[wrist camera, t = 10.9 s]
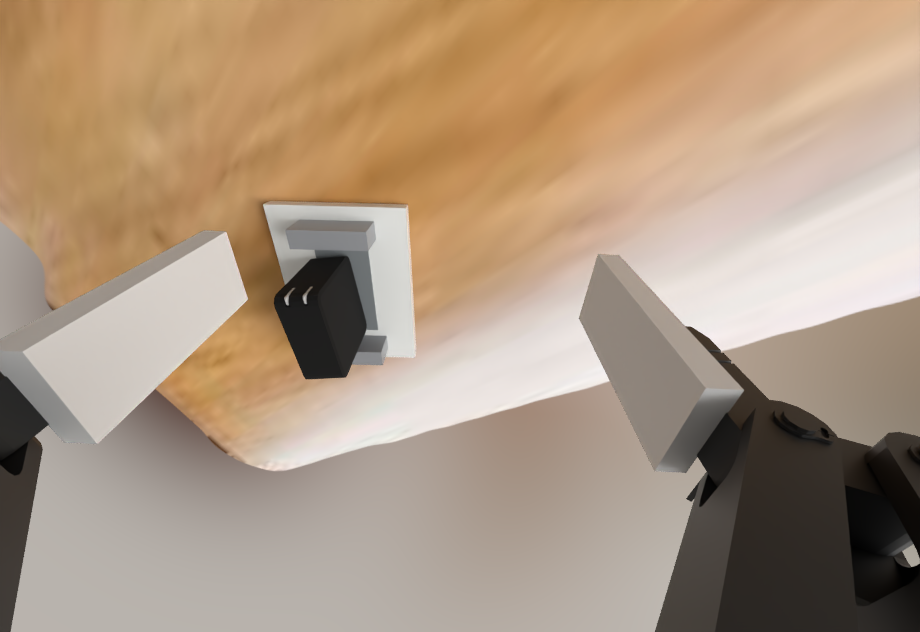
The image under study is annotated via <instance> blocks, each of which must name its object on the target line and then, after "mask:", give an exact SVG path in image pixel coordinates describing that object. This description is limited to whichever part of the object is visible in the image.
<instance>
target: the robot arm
mask: <svg viewBox="0 0 920 632" xmlns="http://www.w3.org/2000/svg"><path fill="white" fill-rule="evenodd" d="M247 300H248V298H247V295H246V292H245V288H244V285H243V282H242V279H241V276H240V273H239V270H238V267H237V264H236V261H235V257H234V254H233V251H232V248H231V245H230V242H229V239H228V236H227V233H226V232H225V231H208V230H204V231H202V232H200V233H198V234H196V235H194V236H192V237H190V238H189V239H187V240H185V241H183V242H181V243H179V244H177V245H175V246H174V247H172V248H170V249H168V250H166V251H164V252H162V253H161V254H159V255H157V256H155V257H153V258H151V259H149V260H147V261H146V262H144V263H142V264H140V265H138V266H136V267H134V268H132V269H131V270H129V271H127V272H125V273H123V274H121V275H119V276H117V277H116V278H114V279H112V280H110V281H108V282H106V283H104V284H102V285H101V286H99V287H97V288H95V289H93V290H91V291H89V292H88V293H86V294H84V295H82V296H80V297H78V298H76V299H74V300H73V301H71V302H69V303H67V304H65V305H63V306H61V307H59V308H58V309H56V310H54V311H52V312H50V313H48V314H46V315H44V316H43V317H41V318H39V319H37V320H35V321H33V322H31V323H29V324H28V325H26V326H24V327H22V328H20V329H18V330H16V331H15V332H13V333H11V334H9V335H7V336H5V337H3V338H2V339H0V632H10V631H11V625H12V620H13V614H14V608H15V602H16V597H17V591H18V586H19V580H20V574H21V568H22V563H23V557H24V552H25V546H26V540H27V535H28V529H29V523H30V518H31V512H32V506H33V500H34V495H35V490H36V484H37V478H38V473H39V467H40V461H41V456H42V450H43V449H42V445H41V443H40V442H39V441H38V439H37V438H36V437H35V435H36V434H38V433H39V432H40V431H41V430H43V429H44V428H45V427H46V426H48V425H49V426H50V428H51V429H52V430H53V431H54V432H55V433H56V434H57V435H58V436H59V438H60V439H61V440H62V441H63V442H65V443H67V442H68V443H86V444H98V443H99V442H100V441H101V440H102V439H103V438H104V437H105V436H106V435H107V434H108V433H109V432H110V431H112V429H114V427H116V426H117V425H118V424H119V423H120V422H121V421H122V420H123V419H124V418H125V417H126V416H127V415H128V414H129V413H130V412H131V411H132V410H133V409H134V408H135V407H137V406H138V405H139V404H140V403H141V402H142V401H143V400H144V399H145V398H146V397H147V396H148V395H149V394H150V393H151V392H152V391H153V390H154V389H155V388H156V387H157V386H158V385H159V384H161V383H162V382H163V381H164V380H165V379H166V378H167V377H168V376H169V375H170V374H171V373H172V372H173V371H174V370H175V369H176V368H177V367H178V366H179V365H180V364H181V363H182V362H183V361H184V360H186V359H187V358H188V357H189V356H190V355H191V354H192V353H193V352H194V351H195V350H196V349H197V348H198V347H199V346H200V345H201V344H202V343H203V342H204V341H205V340H206V339H207V338H208V337H209V336H211V335H212V334H213V333H214V332H215V331H216V330H217V329H218V328H219V327H220V326H221V325H222V324H223V323H224V322H225V321H226V320H227V319H228V318H229V317H230V316H231V315H232V314H233V313H235V312H236V311H237V310H238V309H239V308H240V307H241V306H242V305H243V304H244V303H245V302H246V301H247ZM579 319H580V321H581V323H582V325H583V327H584V329H585V331H586V333H587V335H588V337H589V339H590V341H591V344H592V346H593V348H594V350H595V352H596V354H597V356H598V358H599V360H600V362H601V364H602V366H603V368H604V370H605V372H606V374H607V376H608V378H609V380H610V382H611V384H612V386H613V388H614V390H615V392H616V394H617V396H618V398H619V400H620V402H621V404H622V406H623V408H624V410H625V412H626V414H627V416H628V418H629V420H630V422H631V424H632V426H633V428H634V431H635V433H636V435H637V436H638V439H639V441H640V443H641V445H642V447H643V449H644V451H645V452H646V455H647V457H648V459H649V461H650V463H651V465H652V467H653V469H654V471H661V472H662V471H663V472H682V473H686V472H687V471H688V469H689V468H690V466H691V465H692V464H693V462H694V461H695V459H696V458H697V457H698V458H699V460H700V461H701V463H702V464H703V466H704V468H705V469H706V471H707V472H706V473H705V475H704V476H703V477H702V479H701V480H700V481H699V483H698V484H697V485H696V487H695V488H694V489H693V491H692V492H691V493H690V495H689V496H688V497H687V498H686V499H687V500H689V501H692V500H693V499H694V498H695V499H694V503H693V506H692V509H691V513H690V516H689V519H688V523H687V526H686V530H685V533H684V536H683V539H682V543H681V546H680V550H679V553H678V556H677V560H676V564H675V566H674V570H673V573H672V576H671V580H670V583H669V587H668V590H667V593H666V597H665V600H664V604H663V607H662V610H661V613H660V617H659V620H658V623H657V627H656V630H655V632H920V564H919V565H917V566H914V567H911V566H910V565H909V563H908V562H907V560H906V558H905V556H904V554H903V552H902V551H903V550H904V549H906V548H908V547H909V546H911V545H912V544H914V546H915V548H916V549H917V552H918V555H919V558H920V437H918V436H915V435H910V434H906V433H901V432H895V433H888V434H887V435H886V436H885V437H883V438H882V439H881V440H880V441H879V442H878V443H877V444H876V445H874V446H873V447H871V446H867V445H863V444H860V443H856V442H852V441H849V440H845V439H841V438H838V437H837V436H836V434H835V433H834V432H833V431H832V430H831V429H830V428H829V427H828V426H827V425H826V424H825V423H824V422H822V421H821V420H819V419H818V418H817V417H815V416H814V415H812V414H810V413H808V412H806V411H804V410H802V409H801V408H799V407H797V406H793V405H791V404H787V403H785V402H781V401H774V400H769V399H768V398H767V397H766V396H765V395H764V394H763V393H762V392H761V391H760V390H759V389H758V388H757V387H756V386H755V385H754V384H753V383H752V382H751V381H750V380H749V379H748V378H747V377H746V376H745V375H744V374H743V373H742V372H741V371H740V369H739V368H738V367H737V366H735V364H731V360H730V359H729V358H728V357H727V356H726V355H725V354H724V353H721V350H720V349H719V348H718V347H717V346H716V345H715V344H714V343H713V342H712V341H711V340H710V339H709V338H708V337H706V336H705V335H703V334H702V333H700V332H698V331H697V330H695V329H694V328H692V327H686V326H684V325H683V324H682V323H681V321H680V320H679V319H678V318H677V317H676V316H675V315H674V314H673V313H672V312H671V311H670V310H669V308H668V307H667V306H666V305H665V304H664V303H663V302H662V301H661V300H660V299H659V298H658V297H657V296H656V294H655V293H654V292H653V291H652V290H651V289H650V288H649V287H648V286H647V285H646V284H645V283H644V281H643V280H642V279H641V278H640V277H639V276H638V275H637V274H636V273H635V272H634V271H633V270H632V269H631V267H630V266H629V265H628V264H627V263H626V262H625V261H624V260H623V259H622V258H621V257H620V256H619V255H606V254H598V256H597V259H596V262H595V266H594V269H593V273H592V276H591V279H590V283H589V286H588V290H587V293H586V296H585V300H584V303H583V307H582V310H581V313H580V317H579Z"/></svg>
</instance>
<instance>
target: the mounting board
mask: <svg viewBox="0 0 920 632" xmlns="http://www.w3.org/2000/svg"><path fill="white" fill-rule="evenodd" d="M263 206H264V210H265V214H266V217H267V221H268V225H269V228H270V232H271V236H272V239H273V243H274V246H275V250H276V254H277V257H278V261H279V265H280V268H281V272H282V276H283V279H284V283H285V285H286V284H287V283H288V282H289V281H290V280H291V279H292V278H293V277H294V276H295V275H296V274H297V273H298V271H299V270H300V269H301V268H302V267H303V266H304V265H305V264H306V263H307V262H308V261H309V260H310V259H314V258H328V257H343V256H348V257H349V259H350V262H351V266H352V270H353V273H354V277H355V281H356V285H357V288H358V292H359V296H360V300H361V304H362V307H363V311H364V315H365V319H366V323H367V329H366V333H365V335H364V337H363V340H362V342H361V344H360V347H359V349H358V351H357V353H356V356H355V358H354V360H353V363H352V364H355V365H383V363H384V360H385V357H409V358H415V355H416V337H415V320H414V302H413V285H412V267H411V250H410V232H409V215H408V204H372V203H333V202H294V201H269V202H267V203H265V204H263Z"/></svg>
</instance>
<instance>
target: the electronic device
mask: <svg viewBox="0 0 920 632" xmlns="http://www.w3.org/2000/svg"><path fill="white" fill-rule="evenodd" d="M274 305H275V309H276V311H277V314H278V316H279V318H280V321H281V323H282V325H283V328H284V330H285V333H286V335H287V337H288V340H289V342H290V345H291V347H292V349H293V352H294V354H295V356H296V359H297V361H298V364H299V366H300V368H301V371H302V373H303V376H304V377H305V379H324V378H344V377H346V376H347V374H348V372H349V370H350V367H351V365H352V363H353V360H354V358H355V356H356V353H357V351H358V349H359V347H360V344H361V342H362V340H363V337H364V335H365V333H366V329H367V323H366V319H365V315H364V311H363V307H362V304H361V300H360V296H359V292H358V288H357V285H356V281H355V277H354V273H353V270H352V266H351V262H350V259H349V257H348V256H343V257H328V258H314V259H310V260H309V261H308V262H307V263H306V264H305V265H304V266H303V267H302V268H301V269H300V270H299V271H298V273H297V274H296V275H295V276H294V277H293V278H292V279H291V280H290V281H289V282H288V283H287V284H286V285H285V286H284V287H283V288H282V289H281V290H280V291H279V292H278V293H277V294H276V296H275V298H274Z"/></svg>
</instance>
